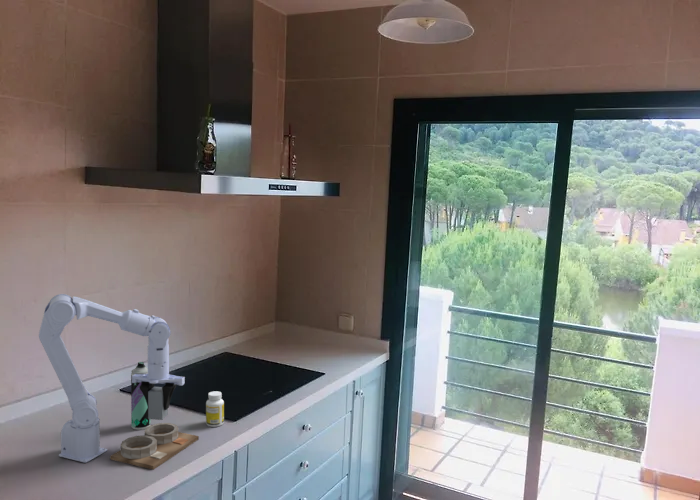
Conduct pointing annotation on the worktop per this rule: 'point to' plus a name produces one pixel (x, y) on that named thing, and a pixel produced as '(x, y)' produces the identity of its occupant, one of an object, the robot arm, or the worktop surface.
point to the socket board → (154, 446)
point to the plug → (156, 404)
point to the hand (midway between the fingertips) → (158, 408)
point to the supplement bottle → (214, 409)
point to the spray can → (139, 401)
